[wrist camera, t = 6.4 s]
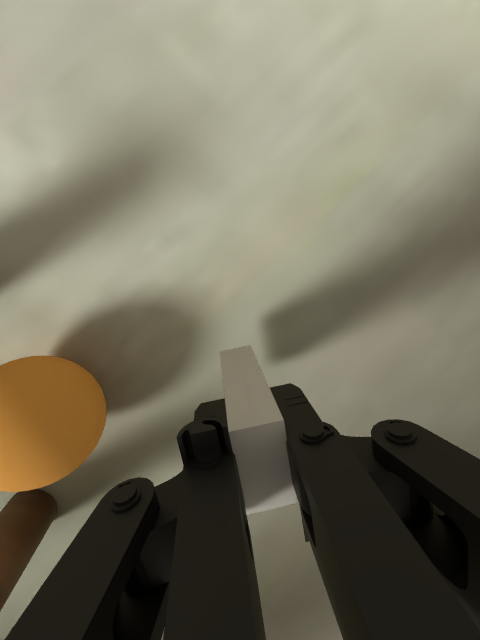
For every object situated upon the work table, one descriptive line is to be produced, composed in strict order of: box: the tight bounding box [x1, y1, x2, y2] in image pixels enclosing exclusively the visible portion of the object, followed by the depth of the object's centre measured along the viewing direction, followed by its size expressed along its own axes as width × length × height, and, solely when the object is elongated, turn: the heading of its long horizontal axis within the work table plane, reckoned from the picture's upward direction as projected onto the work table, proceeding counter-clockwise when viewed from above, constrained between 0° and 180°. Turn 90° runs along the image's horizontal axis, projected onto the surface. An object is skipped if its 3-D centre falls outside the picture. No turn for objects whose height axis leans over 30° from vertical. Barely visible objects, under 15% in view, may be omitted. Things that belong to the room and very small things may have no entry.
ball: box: [0, 356, 106, 492], centre depth 13 cm, size 6×6×6 cm
